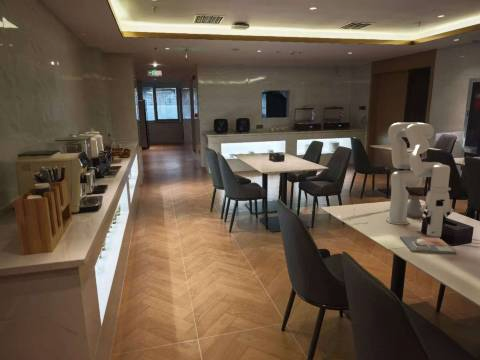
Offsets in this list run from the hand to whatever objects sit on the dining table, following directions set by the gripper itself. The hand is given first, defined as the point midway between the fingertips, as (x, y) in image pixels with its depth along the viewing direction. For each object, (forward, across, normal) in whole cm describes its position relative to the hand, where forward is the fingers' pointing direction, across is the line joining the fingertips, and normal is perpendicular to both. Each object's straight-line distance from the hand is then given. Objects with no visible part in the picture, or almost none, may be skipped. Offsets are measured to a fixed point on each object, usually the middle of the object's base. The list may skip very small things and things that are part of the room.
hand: (435, 223), depth 171 cm
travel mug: (+7, 0, 0) cm, 7 cm away
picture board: (+11, +4, +3) cm, 12 cm away
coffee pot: (+11, -6, -52) cm, 53 cm away
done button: (+8, +9, +8) cm, 15 cm away
